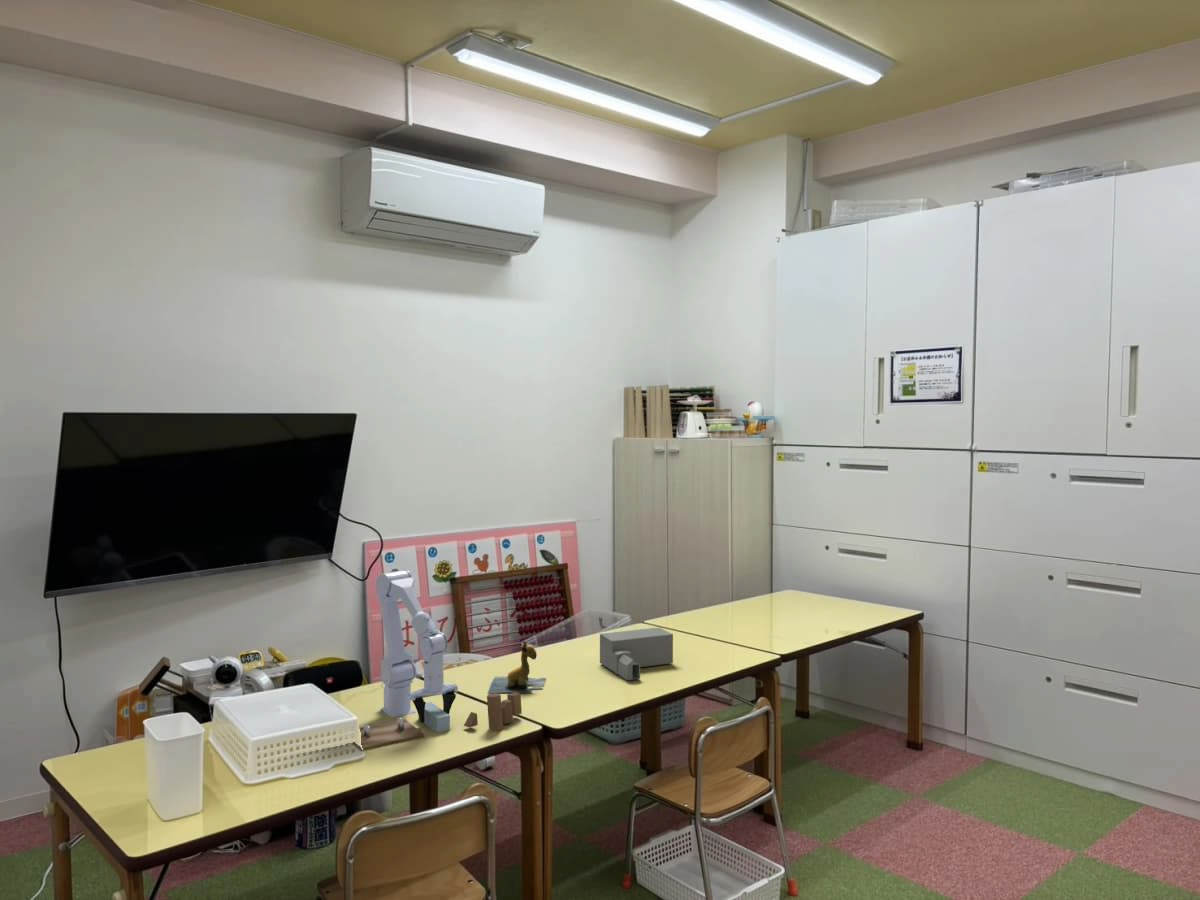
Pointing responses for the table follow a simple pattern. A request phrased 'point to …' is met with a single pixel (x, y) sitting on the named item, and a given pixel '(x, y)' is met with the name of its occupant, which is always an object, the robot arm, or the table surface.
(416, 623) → the robot arm
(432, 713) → the blue-grey rectangular block
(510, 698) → the wooden block set
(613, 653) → the gray box with nozzle
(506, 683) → the stuffed giraffe
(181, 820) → the table surface
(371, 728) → the peg plate
